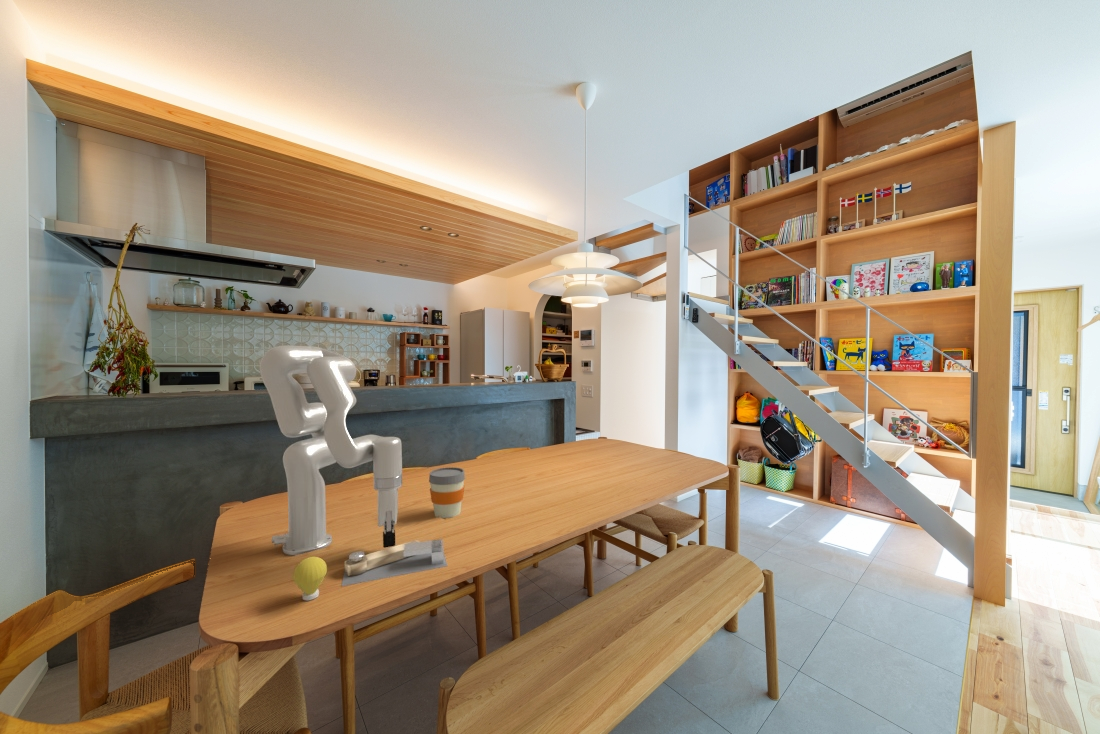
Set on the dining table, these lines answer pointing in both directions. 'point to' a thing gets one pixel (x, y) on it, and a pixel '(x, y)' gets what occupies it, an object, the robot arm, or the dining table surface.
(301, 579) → the light bulb
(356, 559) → the pin cap
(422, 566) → the base board
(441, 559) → the block
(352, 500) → the dining table surface
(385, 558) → the arm link
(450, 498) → the reusable coffee cup
